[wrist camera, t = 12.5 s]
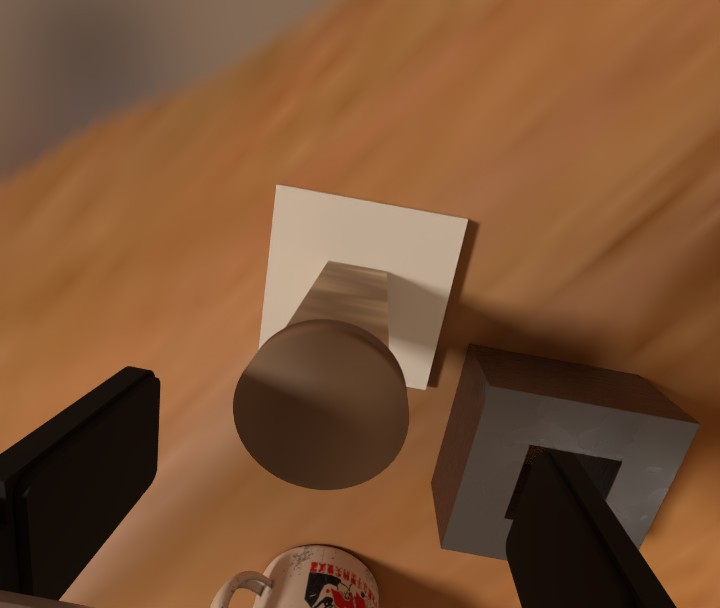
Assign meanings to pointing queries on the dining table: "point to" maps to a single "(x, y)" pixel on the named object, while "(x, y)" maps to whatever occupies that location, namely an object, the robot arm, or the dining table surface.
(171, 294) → the dining table surface
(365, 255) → the tile
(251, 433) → the peg
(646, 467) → the eye block
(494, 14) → the dining table surface
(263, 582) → the teacup with lid
